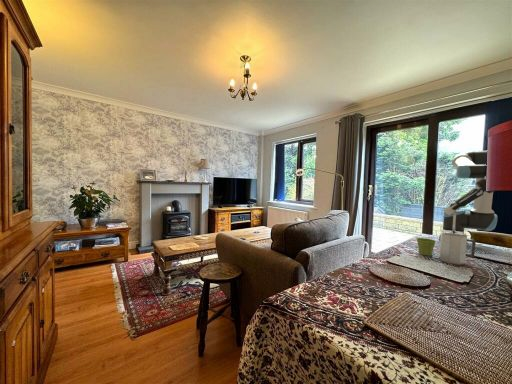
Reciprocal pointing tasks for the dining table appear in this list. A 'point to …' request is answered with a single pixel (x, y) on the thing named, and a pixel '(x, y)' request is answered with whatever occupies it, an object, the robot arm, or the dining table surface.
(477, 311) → the dining table surface
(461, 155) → the robot arm
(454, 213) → the plunger
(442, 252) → the press carafe
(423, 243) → the plant pot
